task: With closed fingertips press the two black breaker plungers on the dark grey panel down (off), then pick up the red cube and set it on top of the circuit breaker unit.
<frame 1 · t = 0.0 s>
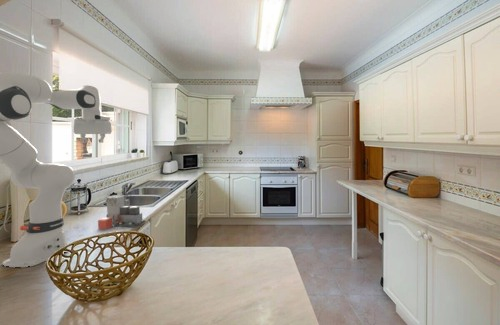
hand: (93, 142, 140), 48 cm above the counter, fingers open, 8 cm apart
red cube: (105, 227, 145), on the counter
plunger a: (125, 211, 151), point 7 cm above the counter, slide at 0.0 cm
breaker panel: (130, 223, 151), on the counter
plunger b: (134, 211, 150), point 7 cm above the counter, slide at 0.0 cm
circuit breaker: (119, 219, 161), on the counter
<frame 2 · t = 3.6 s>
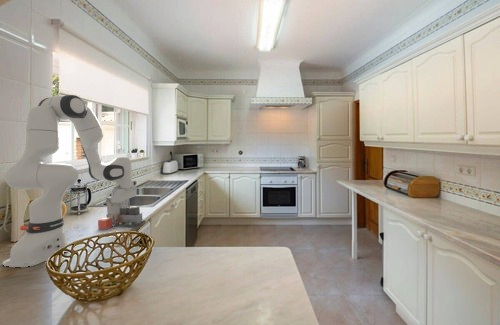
hand: (124, 207, 151), 10 cm above the counter, fingers closed
plunger a: (125, 212, 151), point 7 cm above the counter, slide at 0.5 cm, touching gripper
everything else where it was.
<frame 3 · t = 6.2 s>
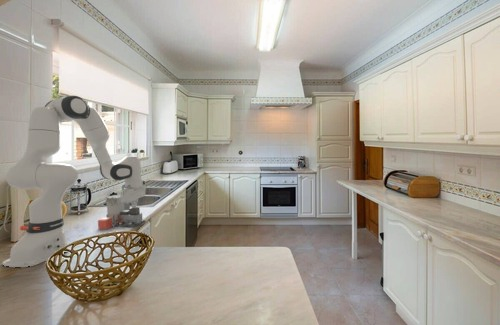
hand: (134, 206, 151), 10 cm above the counter, fingers closed, pressing on plunger b
plunger a: (125, 215, 151), point 5 cm above the counter, slide at 2.6 cm
plunger b: (134, 212, 150), point 7 cm above the counter, slide at 0.3 cm, touching gripper
everything else where it was.
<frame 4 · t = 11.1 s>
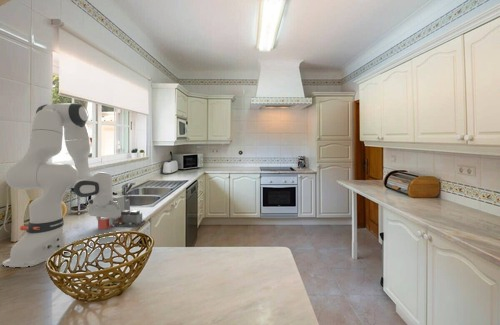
hand: (105, 224, 144), 2 cm above the counter, fingers closed on red cube, 5 cm apart
red cube: (105, 227, 144), on the counter, touching gripper
plunger b: (134, 216, 151), point 5 cm above the counter, slide at 2.6 cm
everything else where it was.
when the fingers open (18 cm above the counter, at t = 16.4 s): red cube drops 1 cm, resting on circuit breaker.
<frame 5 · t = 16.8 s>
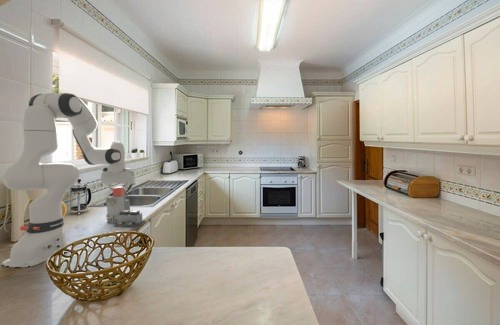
hand: (118, 190, 159), 18 cm above the counter, fingers open, 8 cm apart
red cube: (119, 195, 159), point 15 cm above the counter, touching circuit breaker
circuit breaker: (119, 219, 161), on the counter, touching red cube
everything else where it was.
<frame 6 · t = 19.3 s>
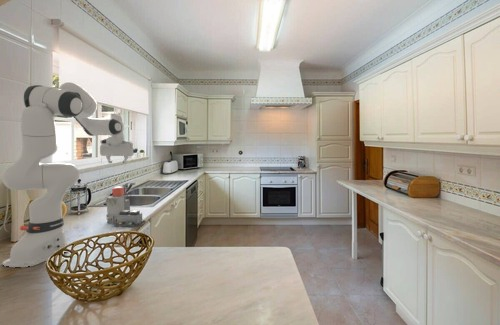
hand: (117, 163, 158), 35 cm above the counter, fingers open, 8 cm apart
nothing on the counter moved.
at the end: plunger a slide at 2.6 cm; plunger b slide at 2.6 cm; red cube inside the target area (0.3 cm from its centre), point 15.0 cm above the counter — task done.
